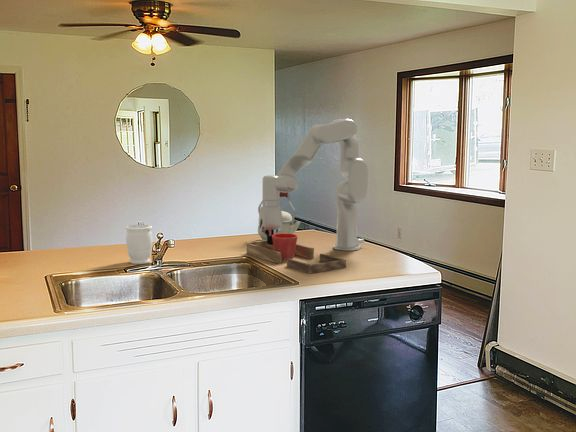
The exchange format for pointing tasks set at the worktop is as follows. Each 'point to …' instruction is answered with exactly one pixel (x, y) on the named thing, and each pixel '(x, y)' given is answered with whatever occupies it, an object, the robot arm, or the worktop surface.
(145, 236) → the jar
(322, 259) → the bay
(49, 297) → the worktop surface
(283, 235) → the flower pot
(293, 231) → the kettle
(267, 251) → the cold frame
